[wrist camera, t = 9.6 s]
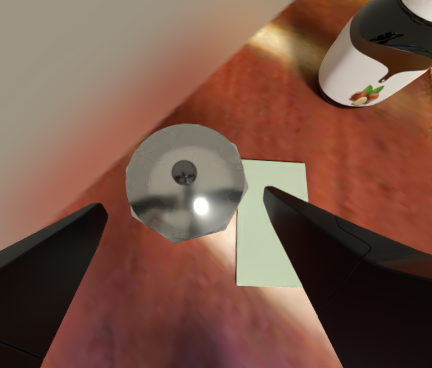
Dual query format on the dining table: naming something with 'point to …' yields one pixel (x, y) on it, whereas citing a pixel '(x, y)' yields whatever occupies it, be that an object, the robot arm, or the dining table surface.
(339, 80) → the spread jar
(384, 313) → the robot arm
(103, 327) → the dining table surface
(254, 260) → the sage placemat
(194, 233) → the grey metal canister
